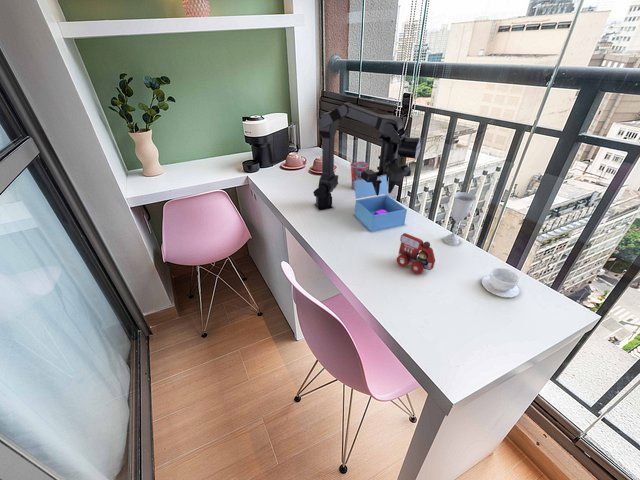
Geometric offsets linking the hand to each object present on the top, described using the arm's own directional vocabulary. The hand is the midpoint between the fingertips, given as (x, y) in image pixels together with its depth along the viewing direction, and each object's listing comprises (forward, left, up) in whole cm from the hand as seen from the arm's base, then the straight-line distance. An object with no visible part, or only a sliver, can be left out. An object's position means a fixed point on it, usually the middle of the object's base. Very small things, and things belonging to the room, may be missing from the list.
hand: (383, 194), depth 120 cm
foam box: (0, +1, -12) cm, 12 cm away
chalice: (+17, -23, -12) cm, 31 cm away
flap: (0, +10, -1) cm, 10 cm away
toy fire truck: (-5, -31, -12) cm, 34 cm away
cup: (+7, +35, -12) cm, 38 cm away
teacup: (+13, -49, -12) cm, 52 cm away
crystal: (0, 0, -12) cm, 12 cm away
